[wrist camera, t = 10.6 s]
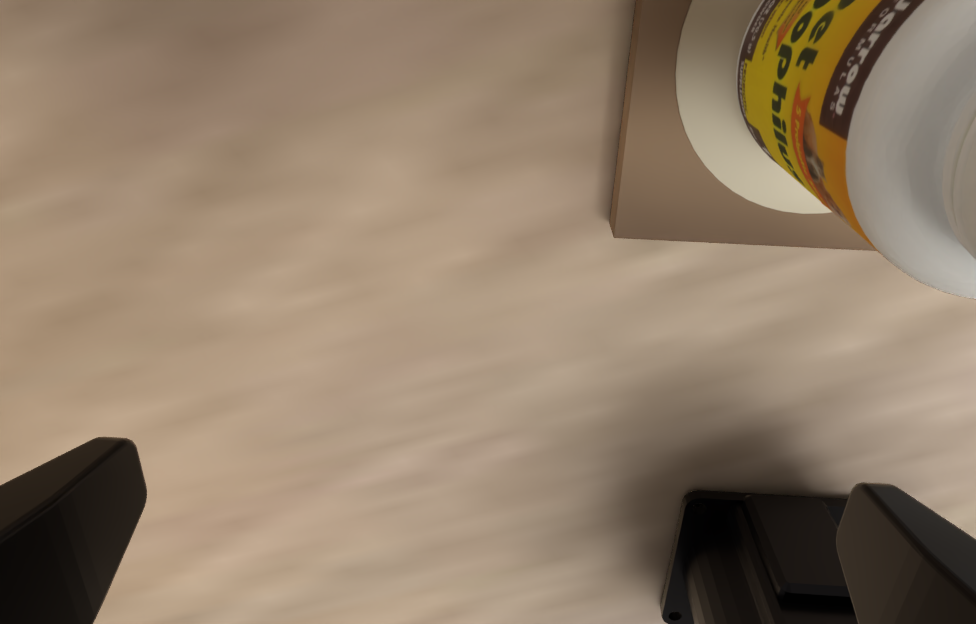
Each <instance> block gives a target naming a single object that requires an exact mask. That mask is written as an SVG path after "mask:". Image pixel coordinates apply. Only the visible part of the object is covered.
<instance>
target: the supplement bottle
mask: <svg viewBox="0 0 976 624" xmlns="http://www.w3.org/2000/svg"><path fill="white" fill-rule="evenodd" d="M736 91H737V99H738V104H739V108H740V112H741V115H742V118H743V120H744V122H745V124H746V127H747V129H748V130H749V132H750V134H751V136H752V137H753V138H754V140H755V141H756V142H757V144H758V145H759V146H760V147H761V149H762V150H763V151H764V152H765V153H766V154H767V155H768V156H769V157H770V158H771V159H772V160H773V161H774V162H776V163H777V164H778V165H779V166H780V167H781V168H783V169H784V170H785V171H786V172H787V173H788V174H790V175H791V176H792V177H793V178H794V179H795V180H796V181H798V182H799V183H800V184H801V185H802V186H803V187H804V188H805V189H807V190H808V191H809V192H810V193H811V194H812V195H814V196H815V197H816V198H817V199H818V200H819V201H821V203H822V204H823V205H824V206H826V207H827V208H828V209H830V210H831V211H832V212H833V213H834V214H835V215H837V216H838V217H839V218H840V219H841V220H842V221H844V222H845V223H846V224H847V225H848V226H850V227H851V228H852V229H853V230H854V231H855V232H857V233H858V234H859V235H860V236H861V237H862V238H863V239H864V240H866V241H867V242H868V243H869V244H870V245H871V246H872V247H874V248H875V249H876V250H877V251H878V252H879V253H880V254H882V255H883V256H884V257H885V258H886V259H887V260H889V261H890V262H891V263H892V264H894V265H895V266H897V267H898V268H899V269H900V270H902V271H903V272H904V273H906V274H908V275H909V276H911V277H912V278H914V279H915V280H917V281H919V282H921V283H923V284H926V285H928V286H930V287H933V288H935V289H938V290H940V291H943V292H946V293H950V294H953V295H957V296H961V297H966V298H971V299H976V0H762V2H761V3H760V5H759V6H758V8H757V10H756V11H755V13H754V15H753V17H752V19H751V21H750V23H749V25H748V27H747V29H746V32H745V34H744V37H743V40H742V44H741V47H740V51H739V55H738V60H737V69H736Z"/></svg>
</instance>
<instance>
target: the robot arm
mask: <svg viewBox="0 0 976 624" xmlns="http://www.w3.org/2000/svg"><path fill="white" fill-rule="evenodd" d="M146 498H147V488H146V483H145V479H144V475H143V471H142V467H141V463H140V459H139V455H138V451H137V448H136V445H135V444H134V442H133V441H132V440H130V439H127V438H114V437H98V438H95V439H92V440H90V441H88V442H86V443H84V444H82V445H80V446H78V447H76V448H74V449H72V450H70V451H68V452H66V453H64V454H62V455H60V456H58V457H56V458H54V459H52V460H50V461H48V462H46V463H44V464H42V465H40V466H38V467H36V468H34V469H32V470H30V471H28V472H26V473H24V474H22V475H20V476H18V477H16V478H14V479H12V480H10V481H8V482H6V483H4V484H2V485H0V624H93V622H94V620H95V619H96V616H97V614H98V612H99V610H100V608H101V606H102V604H103V602H104V600H105V597H106V595H107V593H108V590H109V588H110V586H111V583H112V581H113V579H114V576H115V574H116V572H117V570H118V567H119V565H120V563H121V560H122V558H123V556H124V553H125V551H126V549H127V547H128V544H129V542H130V540H131V537H132V535H133V533H134V530H135V528H136V526H137V524H138V521H139V519H140V517H141V514H142V512H143V510H144V507H145V503H146ZM699 503H701V504H702V505H700V506H696V507H695V506H694V505H695V504H699ZM661 614H662V618H663V620H664V621H665V622H666V623H668V624H976V539H974V538H973V537H971V536H970V535H968V534H967V533H965V532H964V531H962V530H961V529H959V528H958V527H956V526H955V525H953V524H952V523H950V522H949V521H947V520H946V519H944V518H943V517H941V516H940V515H938V514H937V513H935V512H934V511H932V510H931V509H929V508H928V507H926V506H925V505H923V504H922V503H920V502H919V501H917V500H916V499H914V498H913V497H911V496H910V495H908V494H907V493H905V492H904V491H902V490H901V489H899V488H898V487H896V486H894V485H891V484H881V483H864V482H863V483H859V484H857V485H855V486H854V487H853V489H852V491H851V493H850V496H849V498H848V499H833V498H816V497H800V496H784V495H767V494H751V493H734V492H718V491H702V490H697V491H692V492H689V493H688V494H687V495H685V497H684V499H683V501H682V506H681V511H680V516H679V521H678V525H677V530H676V535H675V540H674V545H673V549H672V554H671V559H670V564H669V569H668V573H667V578H666V583H665V588H664V593H663V597H662V602H661Z"/></svg>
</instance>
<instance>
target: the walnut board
mask: <svg viewBox="0 0 976 624" xmlns="http://www.w3.org/2000/svg"><path fill="white" fill-rule="evenodd" d="M761 2H762V0H636V3H635V12H634V20H633V29H632V37H631V46H630V54H629V63H628V71H627V80H626V88H625V97H624V105H623V114H622V122H621V131H620V139H619V147H618V156H617V164H616V173H615V181H614V190H613V198H612V207H611V215H610V227H611V230H612V233H613V236H614V238H628V239H648V240H668V241H689V242H709V243H729V244H749V245H770V246H790V247H810V248H830V249H851V250H871V251H877V250H876V249H875V248H874V247H872V246H871V245H870V244H869V243H868V242H867V241H866V240H864V239H863V238H862V237H861V236H860V235H859V234H858V233H857V232H855V231H854V230H853V229H852V228H851V227H850V226H848V225H847V224H846V223H845V222H844V221H842V220H841V219H840V218H839V217H838V216H837V215H835V214H834V213H833V212H832V211H831V210H830V209H828V208H827V207H826V206H824V205H823V204H822V203H821V201H819V200H818V199H817V198H816V197H815V196H814V195H812V194H811V193H810V192H809V191H808V190H807V189H805V188H804V187H803V186H802V185H801V184H800V183H799V182H798V181H796V180H795V179H794V178H793V177H792V176H791V175H790V174H788V173H787V172H786V171H785V170H784V169H783V168H781V167H780V166H779V165H778V164H777V163H776V162H774V161H773V160H772V159H771V158H770V157H769V156H768V155H767V154H766V153H765V152H764V151H763V150H762V149H761V147H760V146H759V145H758V144H757V142H756V141H755V140H754V138H753V137H752V136H751V134H750V132H749V130H748V129H747V127H746V124H745V122H744V120H743V118H742V115H741V112H740V108H739V104H738V99H737V91H736V69H737V60H738V55H739V51H740V47H741V44H742V40H743V37H744V34H745V32H746V29H747V27H748V25H749V23H750V21H751V19H752V17H753V15H754V13H755V11H756V10H757V8H758V6H759V5H760V3H761Z"/></svg>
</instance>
